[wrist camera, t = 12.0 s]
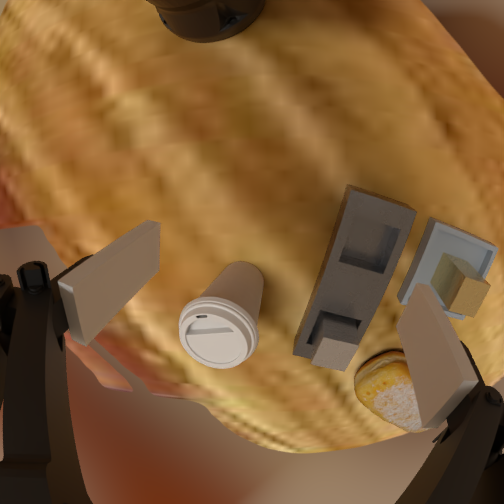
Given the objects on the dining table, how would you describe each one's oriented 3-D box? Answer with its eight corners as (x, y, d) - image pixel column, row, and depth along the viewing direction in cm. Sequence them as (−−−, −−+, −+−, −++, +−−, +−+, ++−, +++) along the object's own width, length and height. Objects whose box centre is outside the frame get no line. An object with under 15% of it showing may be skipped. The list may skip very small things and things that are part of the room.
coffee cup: (279, 258, 42) (261, 319, 28) (268, 313, 46) (249, 381, 32) (215, 246, 43) (171, 297, 30) (211, 300, 47) (174, 360, 33)
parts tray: (429, 216, 35) (436, 221, 33) (491, 242, 34) (498, 248, 32) (397, 295, 40) (400, 303, 38) (458, 312, 39) (463, 320, 37)
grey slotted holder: (347, 184, 36) (351, 189, 32) (407, 204, 35) (416, 211, 32) (294, 338, 47) (292, 354, 43) (344, 350, 46) (345, 366, 42)
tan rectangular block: (443, 252, 36) (465, 276, 28) (467, 260, 35) (490, 285, 28) (430, 281, 38) (448, 310, 30) (453, 289, 37) (473, 317, 30)
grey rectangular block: (323, 303, 42) (323, 337, 35) (353, 311, 42) (359, 345, 34) (312, 329, 44) (310, 364, 37) (341, 336, 44) (344, 371, 36)
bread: (392, 332, 43) (402, 364, 36) (460, 387, 45) (470, 414, 38) (337, 376, 49) (338, 409, 41) (413, 420, 51) (418, 447, 43)
